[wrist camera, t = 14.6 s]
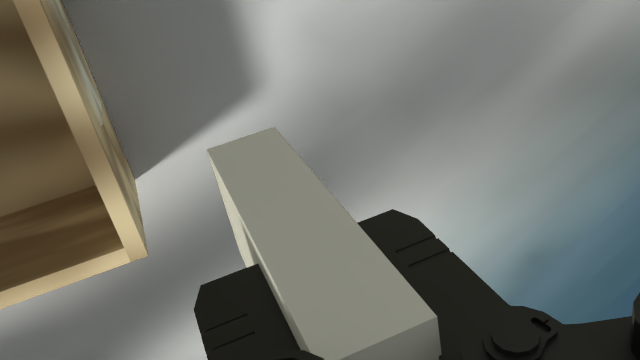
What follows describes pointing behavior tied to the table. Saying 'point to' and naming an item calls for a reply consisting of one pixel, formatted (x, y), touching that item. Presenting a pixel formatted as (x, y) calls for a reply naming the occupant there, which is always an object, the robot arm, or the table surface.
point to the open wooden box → (57, 161)
